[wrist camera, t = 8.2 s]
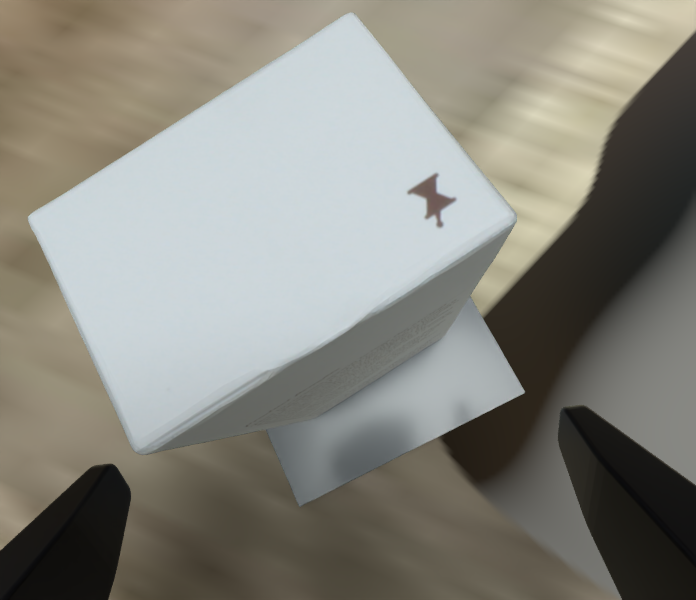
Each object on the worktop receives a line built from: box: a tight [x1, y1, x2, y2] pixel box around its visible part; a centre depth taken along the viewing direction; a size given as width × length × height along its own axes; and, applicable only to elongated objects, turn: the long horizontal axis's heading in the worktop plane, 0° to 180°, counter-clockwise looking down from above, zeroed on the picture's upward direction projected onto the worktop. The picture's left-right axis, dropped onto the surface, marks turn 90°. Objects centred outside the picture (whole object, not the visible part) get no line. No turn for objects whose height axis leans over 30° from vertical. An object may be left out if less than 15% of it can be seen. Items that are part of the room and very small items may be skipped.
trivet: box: [266, 297, 525, 507], centre depth 18 cm, size 10×9×3 cm
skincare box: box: [28, 13, 517, 455], centre depth 12 cm, size 6×4×12 cm
